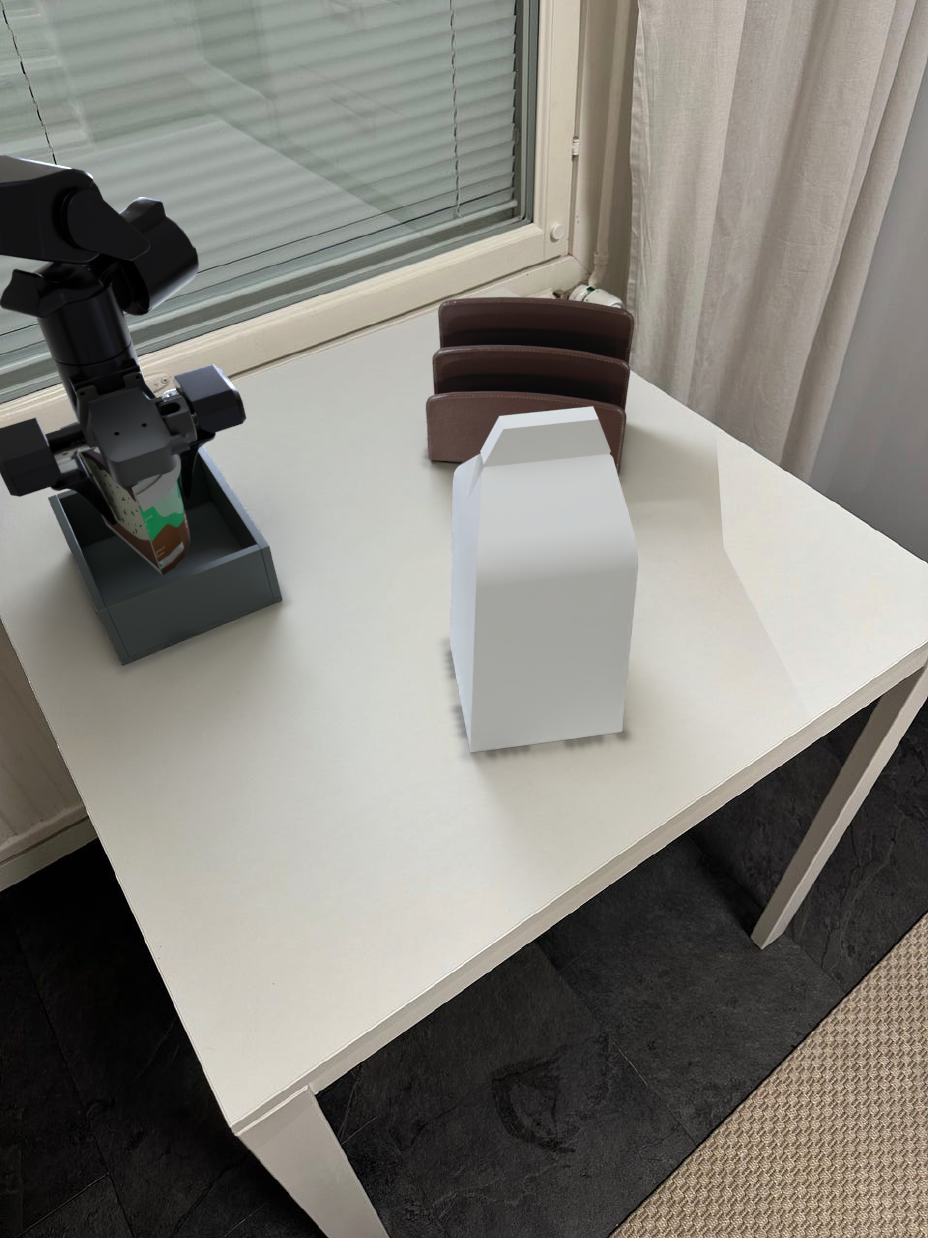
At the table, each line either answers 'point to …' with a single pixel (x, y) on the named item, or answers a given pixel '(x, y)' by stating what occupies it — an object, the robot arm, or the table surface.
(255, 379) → the table surface
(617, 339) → the letter holder
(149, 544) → the cake slice
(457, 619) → the milk
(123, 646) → the storage box
